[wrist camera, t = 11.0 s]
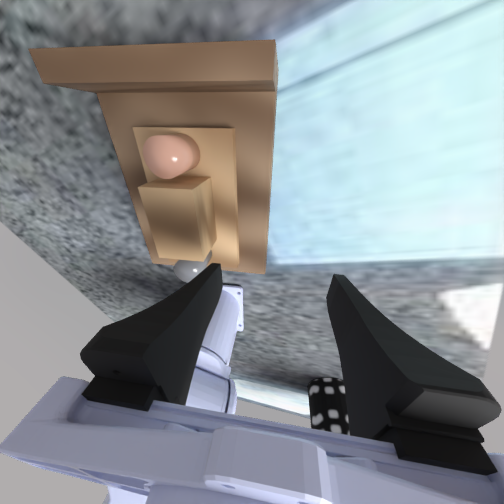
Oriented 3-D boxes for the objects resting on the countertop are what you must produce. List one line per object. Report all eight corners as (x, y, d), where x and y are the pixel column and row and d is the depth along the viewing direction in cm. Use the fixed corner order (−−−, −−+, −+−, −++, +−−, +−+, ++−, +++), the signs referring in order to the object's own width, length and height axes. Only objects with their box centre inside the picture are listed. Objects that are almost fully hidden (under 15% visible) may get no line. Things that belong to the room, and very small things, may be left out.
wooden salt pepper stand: (239, 262, 22) (228, 294, 18) (173, 256, 23) (148, 285, 19) (235, 128, 15) (216, 128, 11) (140, 127, 16) (89, 126, 12)
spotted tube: (352, 398, 39) (403, 597, 23) (310, 397, 42) (328, 577, 25) (351, 377, 35) (410, 600, 19) (304, 377, 38) (320, 576, 21)
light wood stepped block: (266, 264, 24) (261, 299, 19) (161, 254, 26) (131, 285, 21) (278, 69, 14) (275, 39, 9) (107, 73, 16) (28, 48, 11)
